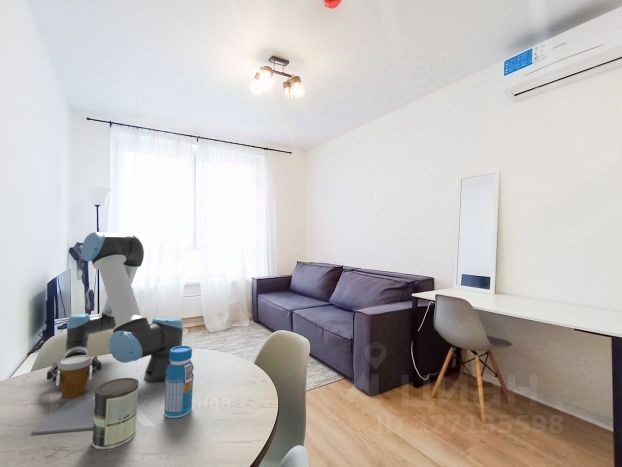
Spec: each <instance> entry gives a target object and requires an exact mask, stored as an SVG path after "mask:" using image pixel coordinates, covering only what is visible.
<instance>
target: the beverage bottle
mask: <svg viewBox="0 0 622 467" xmlns="http://www.w3.org/2000/svg"><path fill="white" fill-rule="evenodd" d="M192 357H193V348H192V346H189V345H182V346H177V347H174V348H172V349H170V352H169V360H170V361H171V363H170V364H169V366H168V367H167V370H166V374H167V377H166V379H165V381H164V383H165V391H164V412H163V413H164V415H165V417H167V418H170V419H177V418H178V419H179V418H181V417H184V416H186V415H188V414H189V413H191V411H192V410H193V388H194V387H193V385H194V377H195V376H194V373H193V372H194V367H195V366H194V364H193V362H192V360H191V359H192Z"/></svg>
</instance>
